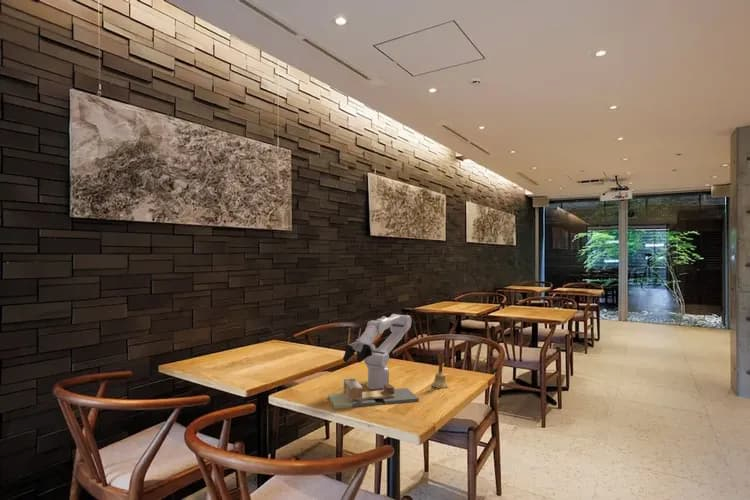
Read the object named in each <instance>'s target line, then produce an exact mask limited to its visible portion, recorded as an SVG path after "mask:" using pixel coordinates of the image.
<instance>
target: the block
mask: <svg viewBox="0 0 750 500" xmlns="http://www.w3.org/2000/svg"><path fill="white" fill-rule="evenodd" d="M346 395H347V396H348V398H350V388H349V387H348V386H347V385H346ZM353 397H359V389H353Z"/></svg>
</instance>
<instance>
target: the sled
mask: <svg viewBox="0 0 750 500" xmlns="http://www.w3.org/2000/svg"><path fill="white" fill-rule="evenodd" d="M394 389H395V387H394V386H393V385H392V384H391V383H389V384H386V385H384V388H383V389H380V390H381V391H376V390H372V391H371V390H369V391H367V392H364V391H362V400H365V399H377V398H389V397H395V395H394ZM345 396H346V398H347V399H348V400H349V401H350V398H348V396H347V395H346V393H345ZM354 400H359V397H353V401H354Z"/></svg>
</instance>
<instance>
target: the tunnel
mask: <svg viewBox="0 0 750 500" xmlns="http://www.w3.org/2000/svg"><path fill="white" fill-rule="evenodd" d="M346 385H347V386H348V387H349V388H350V403H353V389H359V402H360V403H362V392H363V391H364V390H363V386H362V385H361V383H360V382H359V381H358V380H357V379H356V378H347V379H346V378H345V379H343V393H344V395H345V393H346Z"/></svg>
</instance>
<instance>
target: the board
mask: <svg viewBox="0 0 750 500" xmlns="http://www.w3.org/2000/svg"><path fill="white" fill-rule="evenodd" d="M381 390H382V389H375V391H381ZM363 392H368V391H366V390H365V391H364V390H363ZM394 395H395V397H389V398H377V399H365V400H362V403H360V402H359V400H354V401H353V403H350V401H349V400H348V399H347V398H346V396H345V395H344V392H343V393H342V392H340V393H329V394H327V396H328V397H327V398H328V400H329V402H330V403H331V405H332V406H333V408H334V409H335V410H338V409H347V408H350V409H351V408H358V407H368V406H369V407H370V406H380V405H381V406H382V405H383V406H384V405H391V404H393V405H394V404H402V403H403V404H405V403H413V402H419V401H420V399H419V397H418V396H417V395H416V394H415V393H413V392H412V391H411V390H410V389H409V388H407V387H405V388H404V387H403V388H394Z"/></svg>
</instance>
